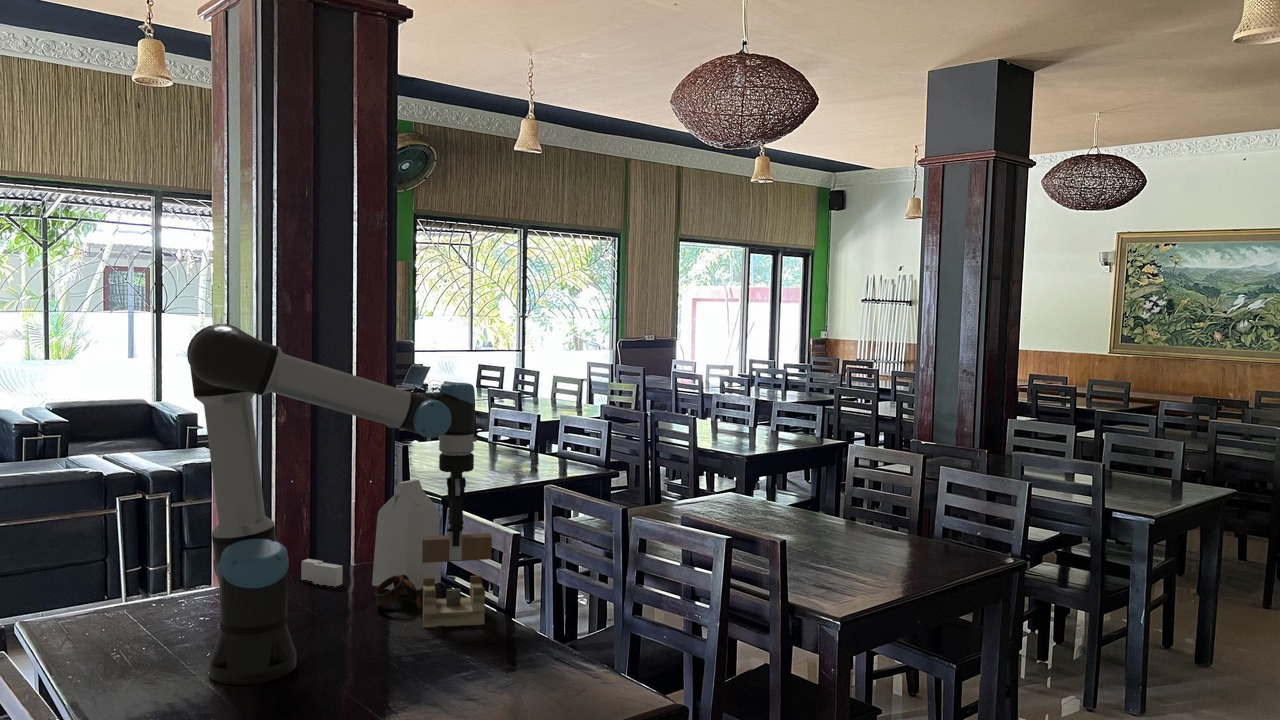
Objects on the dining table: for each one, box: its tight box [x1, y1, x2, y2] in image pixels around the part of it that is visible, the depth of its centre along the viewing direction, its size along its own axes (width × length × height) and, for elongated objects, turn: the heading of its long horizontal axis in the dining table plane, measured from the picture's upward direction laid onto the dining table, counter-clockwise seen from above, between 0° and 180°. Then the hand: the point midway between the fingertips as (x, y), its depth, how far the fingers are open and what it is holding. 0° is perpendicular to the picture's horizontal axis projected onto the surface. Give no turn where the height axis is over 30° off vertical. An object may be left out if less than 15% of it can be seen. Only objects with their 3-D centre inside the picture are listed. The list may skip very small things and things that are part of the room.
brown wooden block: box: [422, 532, 493, 563], centre depth 202 cm, size 4×15×5 cm, turn 104°
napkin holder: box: [300, 558, 344, 588], centre depth 226 cm, size 15×11×6 cm
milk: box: [371, 479, 442, 591], centre depth 226 cm, size 12×12×26 cm
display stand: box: [422, 574, 486, 628], centre depth 203 cm, size 10×13×8 cm
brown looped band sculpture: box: [374, 575, 422, 609], centre depth 210 cm, size 12×10×8 cm
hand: (454, 556), depth 202 cm, fingers closed on brown wooden block, 4 cm apart
